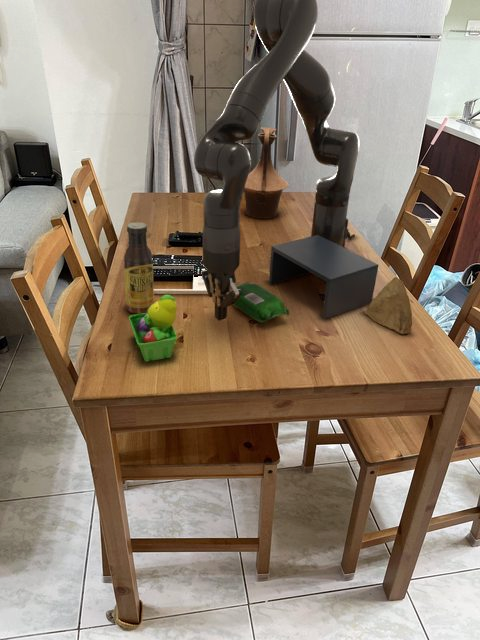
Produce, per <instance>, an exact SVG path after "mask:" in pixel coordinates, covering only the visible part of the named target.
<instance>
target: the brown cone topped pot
mask: <svg viewBox="0 0 480 640" xmlns="http://www.w3.org/2000/svg"><path fill="white" fill-rule="evenodd" d="M260 130H261V131H262V133H258V135H257V137H258V139H259V142H260V144H261V150H260V156H259V160H258V163H257V164H256V166H255V167H254V168H253V170H252V171H250V172H249V175H248V178H247V181H246V184H245V187H244V191H243V193H244V200H245V214H246V215H247V216H248V217H252V218H257V219H270V218H275V217H276V216H278V209H279V204H280V200H281V196H282V194H283V191H284V190H286V189H287V188H289V186H290V185H289V182H288V181H286V180H285V179H284V178H283V177H282V176H280V174H279V173H278V172H277V170H276V169H275V166H274V164H273V161H272V145H273V143H274V142H275V140H276V139H277V135H276V134H275V132H276V131H277V128H275V127H274V128H273V127H265V126H264V127H263V126H261V127H260Z"/></svg>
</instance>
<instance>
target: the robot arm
mask: <svg viewBox="0 0 480 640" xmlns="http://www.w3.org/2000/svg"><path fill="white" fill-rule="evenodd" d="M318 14H319V9H318V2H317V0H254V5H253V21H254V25H255V30H256V33H257V35H258V37H259V40H260V41H261V43H262V45H263V46H264V48H265V50H266V51H267V53H266V54H265V56H263V58H262V59H260V60H259V61H258V62H257V63H256V64H254V66H253V67H252V68H250V69H249V70H248V71H247V72H246V73H245V74H244V75H243V76H242V77H241V78H240V80H239V81H238V82H237V84H236V85H235V87H234V89H233V90H232V92H231V95H230V96H229V99H228V101H227V102H226V106H225V108H224V109H223V112H222V114H221V115H220V116H219V117H218V118H217V119H216V120H215V122H214V123H213V124H212V125H211V126H210V127H209V129H208V130H207V131H206V132H205V134H204V135H202V137H201V138H200V140H199V142H198V143H197V145H196V147H195V150H194V154H193V167H194V169H195V171H196V172H197V173H198V174H199V175H200V176H201V177H204V178H207V179H212V180H216V181H221V182H223V186H222V189H215V190H211V191H209V192H207V193H206V194H205V195H204V198H203V227H202V265H203V266H204V267H205V268H206V269H207V270H204V271H201V274H202V277H203V280H204V283H205V286H206V289H207V292H208V294H207V295H208V297H209V298H212V299H211V300H212V302H213V304H214V318H215V319H216V320H217V321H219V322H220V321H223V320H226V319H227V318H228V307H230V306H234V305H233V304H234V303H235V302H236V301H237V300H238V298H239V297H240V296H241V295H242V290H241V289H238V290H237V288H236V286H237V285H236V282H237V281H236V280H237V279H236V274H235V272H236V271H237V269H238V268H239V267H240V263H241V261H240V260H241V259H240V258H241V226H240V219H241V216H240V215H241V201H242V198H243V196H244V187H245V184H246V181H247V178H248V175H249V173H250V172H251V167H252V157H251V154H250V152H249V150H248V148H247V147H246V146H245V145H244V144H243V143H239V142H240V141H246V140H250V139H252V138H253V137H254V136H255V135H256V133H257V131H258V129H259V127H260V125H261V123H262V121H263V118H264V116H265V114H266V111H267V110H268V107H269V105H270V103H271V101H272V99H273V97H274V95H275V93H276V92H277V90H278V88H279V87H280V85H281V84H282V82H283V81H284V83H285V85H286V87H287V89H288V92H289V95H290V97H291V100H292V101H293V104H294V106H295V108H296V111H297V113H298V114H299V116H300V118H301V121H302V124H303V126H304V128H305V130H306V133H307V136H308V140H309V143H310V147H311V150H312V153H313V157H314V158H315V160H316V161H317V163H319V164H320V165H324V166H328V167H334V168H336V173H335V174H333V175H329V176H324V177H321V178H319V179H318V180H317V181H316V188H315V195H314V205H313V215H312V216H313V217H312V224H311V232H310V237H311V236H315V235H319V236H321V237H323V238H325V239H327V240H329V241H331V242H333V243H335V244H337V245H339V246H341V247H344V248H346V247H345V246H346V240H347V239H349V240H351V239H353V238H355V237H356V234H352V235H351V232H349V228H348V226H349V218H348V217H347V215H348V208H349V202H350V196H351V195H350V194H351V189H352V185H353V182H354V176H355V170H356V165H357V160H358V156H359V151H360V137H359V135H358V133H357V132H354V131H349V130H344V129H336V128H332V127H330V125H329V124H328V122H327V120H328V119H329V117H330V115H331V114H332V111H333V109H334V107H335V103H336V92H335V90H334V86H333V84H332V80H331V78H330V74H329V73H328V71H327V70H326V68H325V67H324V66H323V65H322V64H321V62H319V61H318V60H317V59H316V58H315V57H313V55H311V54H310V53H309V52H308V51H306V50H305V48H306V47H307V45H308V43H309V42H310V40H311V38H312V36H313V34H314V31H315V30H316V26H317V23H318V16H319V15H318Z"/></svg>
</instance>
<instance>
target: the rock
mask: <svg viewBox="0 0 480 640" xmlns="http://www.w3.org/2000/svg"><path fill="white" fill-rule="evenodd" d="M412 313H413V312H412V307H411V303H410V297H409V295H408V292H407V289H406V286H405V283H404V281H403V280H402V279H400V278H399V277H395V276H394V277H393V278H392V279H391V280H390V281H389V282H387V284H386V285H385V286H384V287H382V289H381V290H380V291H379V292H378V294H377V295H376V296H375V297H374V298H372V302H371V303H369V305H368V306H367V307H366V310H365V311H364V315H366V316H367V317H369V318H370V319H371V320H372V321H373V322H375V323H377V324H379V325H381V326H384V327H386V328H388V329H390V330H394V331H395V332H397V333H399V334H401V335H405V334H410V333H411V330H412V327H413V317H412V316H413V314H412Z"/></svg>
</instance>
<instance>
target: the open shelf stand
mask: <svg viewBox="0 0 480 640" xmlns="http://www.w3.org/2000/svg"><path fill="white" fill-rule="evenodd" d="M270 249H271V250H270V261H269V275H268V276H269V277H268V283H269V284H270V285H274V284H278V283H280V282H285V281H287V280H291V279H294V278H297V277H300V276H301V277H302V276H304V275H308V274H312V275H313V276H316V277H318V278H320V279H322V281H324V282H326V283H325V284H326V285H325V292H324V301H323V308H322V316H321V317H322V318H323V319H324V320H327V319H329V318H332V317H335V316H338V315H341V314H343V313H346V312H349V311H351V310H355V309H357V308H360V307H363V306H366V305H368V304H369V305H370V303H371V302H372V300H373V299H374V298H373V297H374V292H375V286H376V281H377V276H378V270H379V263H377V262H374V261H372V260H370V259H368V258H366V257H364V256H362V255H360V254H358V253H356V252H354V251H352V250H350V249H348V248H346V247H341V246H339V245H337V244H335V243H333V242H331V241H329V240H327V239H325V238H323V237H321V236H319V235H315V236H311V235H310V236H308V237H304V238H299V239H295V240H291V241H287V242H283V243H279V244H275V245H271V248H270Z"/></svg>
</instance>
